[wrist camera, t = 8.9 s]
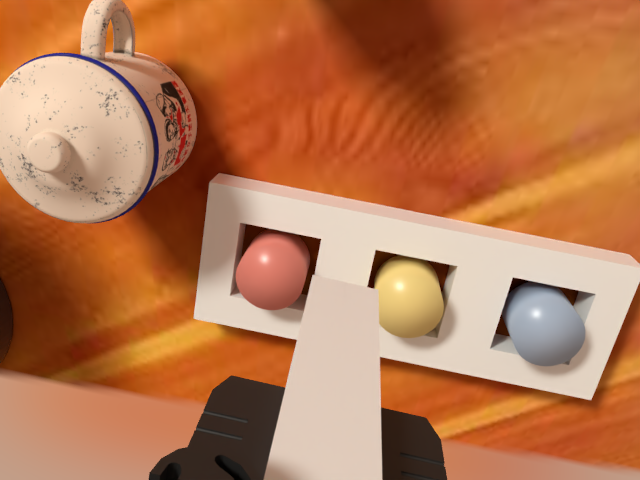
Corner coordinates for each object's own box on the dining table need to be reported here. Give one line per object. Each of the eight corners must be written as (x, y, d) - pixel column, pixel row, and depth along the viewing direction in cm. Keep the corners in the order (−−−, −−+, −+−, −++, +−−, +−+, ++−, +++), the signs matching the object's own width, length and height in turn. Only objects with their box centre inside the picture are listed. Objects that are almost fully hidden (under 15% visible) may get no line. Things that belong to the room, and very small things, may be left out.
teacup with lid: (194, 197, 41) (127, 259, 30) (66, 169, 41) (-46, 222, 30) (216, 14, 37) (148, 11, 26) (74, -15, 37) (-53, -31, 26)
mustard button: (368, 305, 42) (367, 330, 39) (381, 248, 40) (381, 269, 37) (429, 318, 42) (434, 344, 38) (445, 261, 40) (451, 283, 37)
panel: (203, 302, 44) (193, 318, 42) (219, 172, 40) (209, 181, 38) (579, 379, 43) (591, 400, 41) (629, 254, 40) (644, 268, 37)
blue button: (494, 331, 42) (504, 358, 38) (512, 275, 40) (525, 298, 37) (556, 344, 42) (572, 372, 38) (577, 288, 40) (595, 312, 37)
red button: (243, 280, 42) (231, 302, 39) (251, 222, 41) (240, 240, 37) (304, 292, 42) (297, 316, 39) (315, 235, 40) (309, 254, 37)
